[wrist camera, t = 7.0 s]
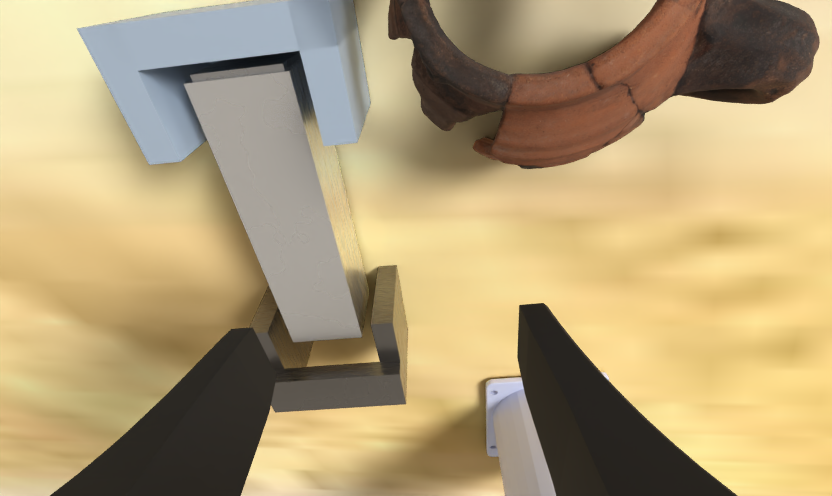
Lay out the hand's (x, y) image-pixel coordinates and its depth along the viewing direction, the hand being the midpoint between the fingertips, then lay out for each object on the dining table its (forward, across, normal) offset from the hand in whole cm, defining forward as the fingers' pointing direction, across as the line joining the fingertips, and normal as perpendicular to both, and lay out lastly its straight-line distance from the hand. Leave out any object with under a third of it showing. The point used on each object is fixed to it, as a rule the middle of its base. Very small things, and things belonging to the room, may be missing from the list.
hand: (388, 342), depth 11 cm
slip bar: (+9, +4, 0) cm, 10 cm away
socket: (+9, +4, -6) cm, 12 cm away
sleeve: (+10, +4, +7) cm, 13 cm away
